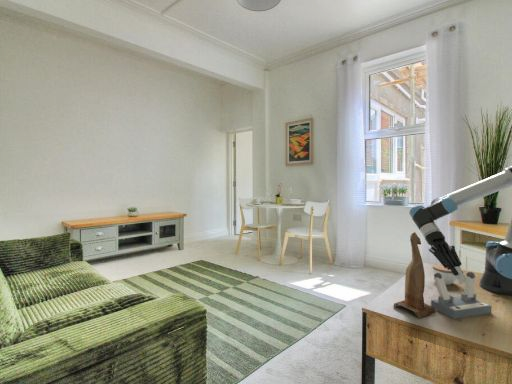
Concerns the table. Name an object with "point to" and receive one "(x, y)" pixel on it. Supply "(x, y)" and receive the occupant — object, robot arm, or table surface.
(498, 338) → the table surface
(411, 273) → the bird sculpture
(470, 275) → the marked lever
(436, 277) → the lever
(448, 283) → the lidded jar
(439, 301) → the switch unit
